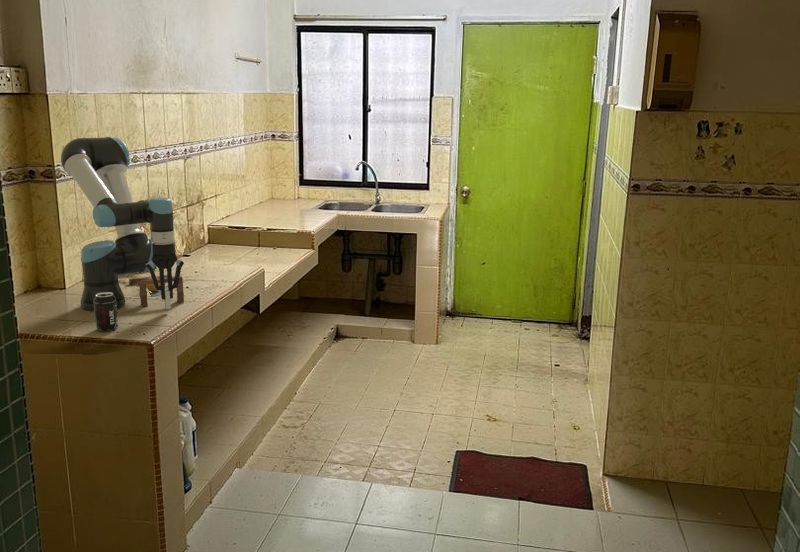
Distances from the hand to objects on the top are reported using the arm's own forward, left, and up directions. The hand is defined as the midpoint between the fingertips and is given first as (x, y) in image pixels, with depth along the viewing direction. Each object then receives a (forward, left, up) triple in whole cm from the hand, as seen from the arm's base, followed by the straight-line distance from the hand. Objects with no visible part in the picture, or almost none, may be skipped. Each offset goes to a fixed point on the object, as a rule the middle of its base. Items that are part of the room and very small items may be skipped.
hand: (167, 307), depth 250 cm
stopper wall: (0, +47, -2) cm, 47 cm away
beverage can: (-21, -11, -2) cm, 24 cm away
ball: (0, +32, +1) cm, 32 cm away
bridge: (0, +13, -2) cm, 13 cm away
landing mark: (0, +31, -2) cm, 31 cm away
